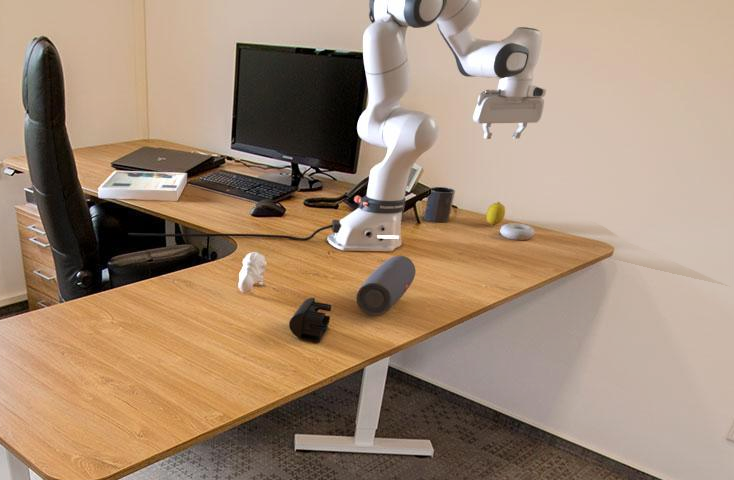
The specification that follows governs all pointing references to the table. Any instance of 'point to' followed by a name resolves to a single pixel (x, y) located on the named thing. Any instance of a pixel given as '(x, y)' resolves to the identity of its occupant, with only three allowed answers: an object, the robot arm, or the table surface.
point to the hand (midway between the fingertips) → (501, 138)
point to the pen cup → (439, 204)
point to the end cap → (310, 321)
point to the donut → (517, 231)
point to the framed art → (143, 185)
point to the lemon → (495, 213)
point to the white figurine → (252, 271)
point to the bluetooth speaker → (386, 285)
